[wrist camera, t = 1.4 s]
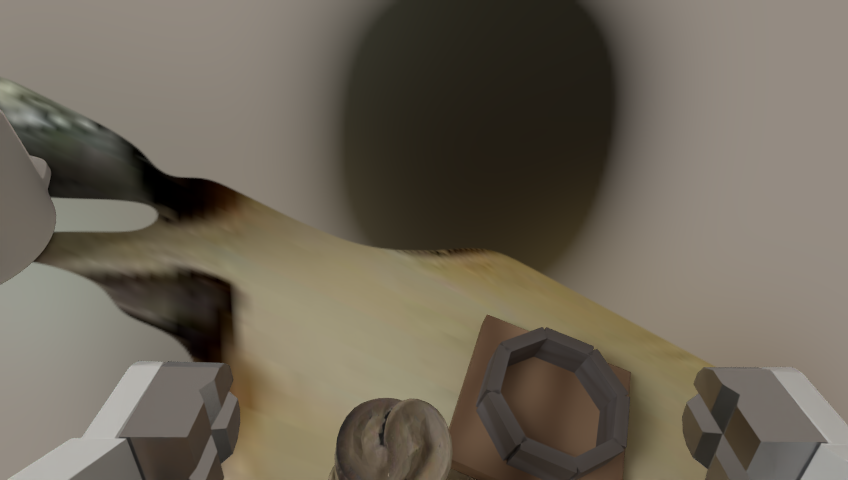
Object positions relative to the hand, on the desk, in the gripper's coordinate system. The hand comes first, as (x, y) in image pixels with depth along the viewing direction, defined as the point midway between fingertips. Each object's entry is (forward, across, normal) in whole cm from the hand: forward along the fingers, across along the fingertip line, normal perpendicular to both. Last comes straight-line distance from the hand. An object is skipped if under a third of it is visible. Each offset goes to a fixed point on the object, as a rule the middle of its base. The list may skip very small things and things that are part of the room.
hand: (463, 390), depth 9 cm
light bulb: (+15, +4, +27) cm, 31 cm away
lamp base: (+23, -9, +26) cm, 36 cm away
